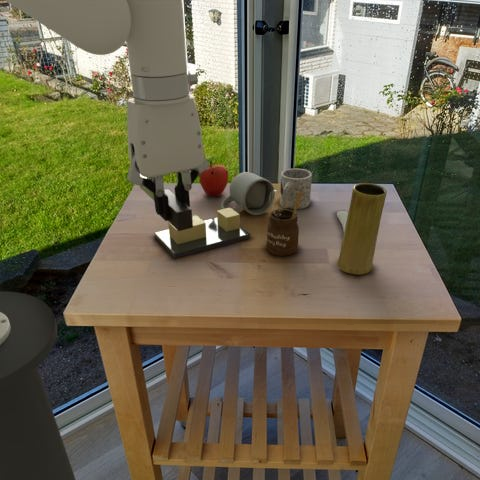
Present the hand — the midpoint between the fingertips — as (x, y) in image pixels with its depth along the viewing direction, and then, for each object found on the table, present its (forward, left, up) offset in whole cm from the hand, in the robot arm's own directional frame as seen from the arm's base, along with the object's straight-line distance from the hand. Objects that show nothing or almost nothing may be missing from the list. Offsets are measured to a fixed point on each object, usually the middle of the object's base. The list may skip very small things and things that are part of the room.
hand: (173, 214), depth 77 cm
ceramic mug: (+24, +20, -13) cm, 34 cm away
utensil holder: (+21, +1, -13) cm, 25 cm away
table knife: (0, +5, -1) cm, 5 cm away
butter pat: (+16, +13, -11) cm, 24 cm away
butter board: (+10, +13, -12) cm, 21 cm away
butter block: (+7, +13, -11) cm, 19 cm away
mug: (+34, +17, -13) cm, 40 cm away
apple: (+22, +31, -13) cm, 40 cm away
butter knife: (+35, -2, -12) cm, 37 cm away
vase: (+29, -11, -12) cm, 33 cm away
